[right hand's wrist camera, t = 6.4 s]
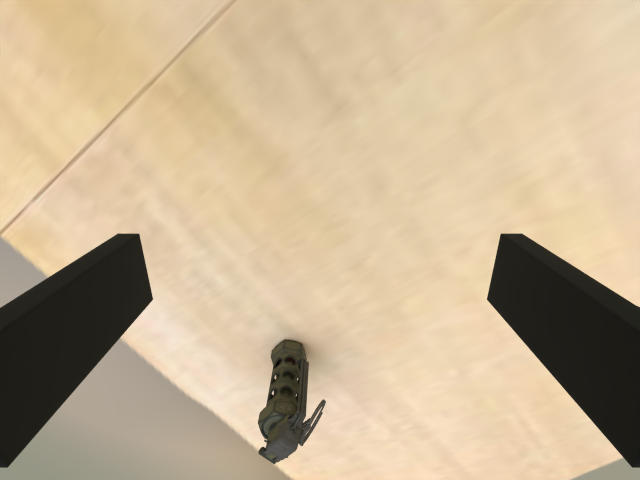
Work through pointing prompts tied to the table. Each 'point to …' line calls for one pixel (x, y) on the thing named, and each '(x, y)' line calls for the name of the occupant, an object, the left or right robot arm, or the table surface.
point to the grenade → (286, 403)
